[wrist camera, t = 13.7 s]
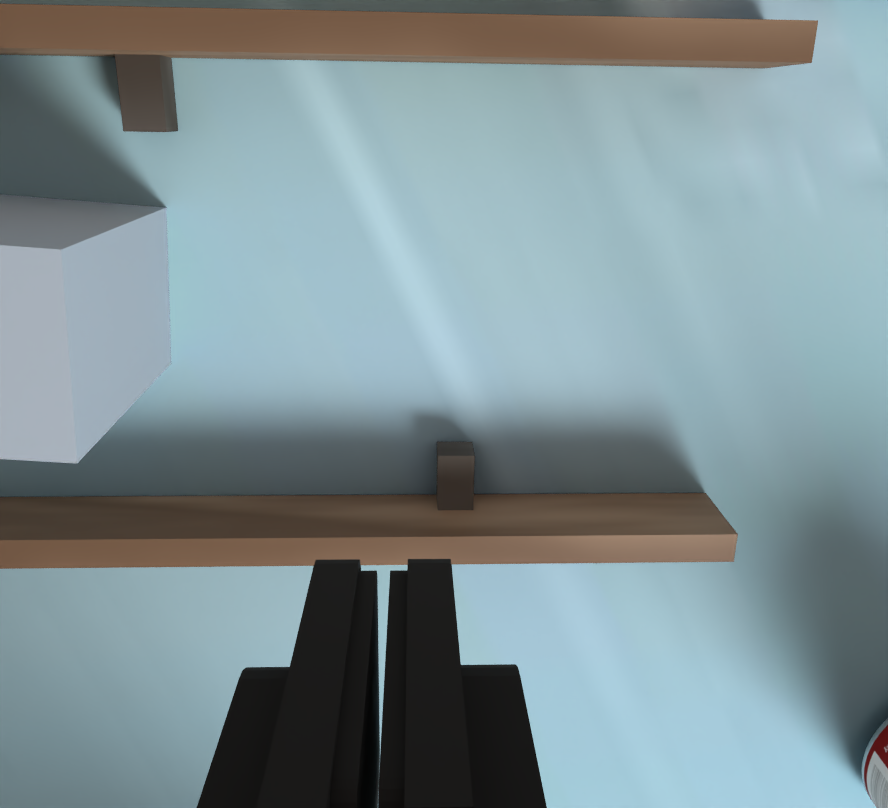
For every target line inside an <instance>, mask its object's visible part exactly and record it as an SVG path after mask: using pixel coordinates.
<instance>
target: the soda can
mask: <svg viewBox="0 0 888 808" xmlns="http://www.w3.org/2000/svg"><path fill="white" fill-rule="evenodd" d="M862 780H863V784H864V787H865V790H866V792H867V794H868V795H869V797H870V798H871V800H872V801H873V803H874V804H875V806H876V807H877V808H888V718H887V719H886V720H885V721H884V722H883V723H882V724H881V725H880V727H879V728H878V729H877V730H876V732H875V733H874V735H873V736H872V738H871V739H870V741H869V743H868V745H867V748H866V750H865V753H864V756H863V761H862Z"/></svg>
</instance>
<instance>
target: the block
mask: <svg viewBox="0 0 888 808" xmlns="http://www.w3.org/2000/svg"><path fill="white" fill-rule="evenodd" d="M170 364H171V334H170V302H169V270H168V238H167V207H154V206H142V205H129V204H117V203H104V202H92V201H79V200H67V199H54V198H42V197H29V196H16V195H4V194H0V459H9V460H26V461H43V462H60V463H78V462H79V461H80V460H81V459H82V458H83V457H84V456H85V455H86V454H87V453H88V452H89V451H90V450H91V448H92V447H93V446H94V445H95V444H96V443H97V442H98V441H99V440H100V439H101V438H102V437H103V436H104V435H105V434H106V433H107V431H108V430H109V429H110V428H111V427H112V426H113V425H114V424H115V423H116V422H117V421H118V420H119V419H120V418H121V417H122V415H123V414H124V413H125V412H126V411H127V410H128V409H129V408H130V407H131V406H132V405H133V404H134V403H135V402H136V401H137V400H138V398H139V397H140V396H141V395H142V394H143V393H144V392H145V391H146V390H147V389H148V388H149V387H150V386H151V385H152V384H153V382H154V381H155V380H156V379H157V378H158V377H159V376H160V375H161V374H162V373H163V372H164V371H165V370H166V369H167V368H168V367H169V365H170Z"/></svg>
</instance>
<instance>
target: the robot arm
mask: <svg viewBox="0 0 888 808" xmlns="http://www.w3.org/2000/svg"><path fill="white" fill-rule="evenodd" d="M379 764H380V773H379ZM378 790H379V798H378ZM197 808H547V807H546V802H545V797H544V792H543V787H542V782H541V777H540V772H539V767H538V762H537V758H536V753H535V748H534V743H533V738H532V733H531V728H530V723H529V718H528V713H527V708H526V703H525V698H524V693H523V688H522V683H521V678H520V674H519V670H518V667H517V666H516V665H461V664H460V653H459V642H458V631H457V620H456V609H455V599H454V588H453V577H452V566H451V559H408V571H390V588H389V606H388V625H387V643H386V662H385V680H384V699H383V718H382V736H381V755H380V741H379V668H378V596H377V571H361V564H360V559H332V560H315V563H314V567H313V572H312V576H311V580H310V584H309V589H308V593H307V597H306V601H305V605H304V610H303V614H302V618H301V622H300V626H299V631H298V635H297V639H296V643H295V648H294V652H293V656H292V660H291V664H290V667H251V668H245V669H244V670H243V671H242V673H241V676H240V678H239V680H238V684H237V687H236V690H235V693H234V696H233V699H232V702H231V705H230V708H229V711H228V714H227V717H226V720H225V723H224V726H223V729H222V732H221V735H220V739H219V742H218V745H217V748H216V751H215V754H214V757H213V760H212V763H211V766H210V769H209V772H208V775H207V778H206V781H205V784H204V787H203V790H202V794H201V797H200V800H199V803H198V806H197Z"/></svg>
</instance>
